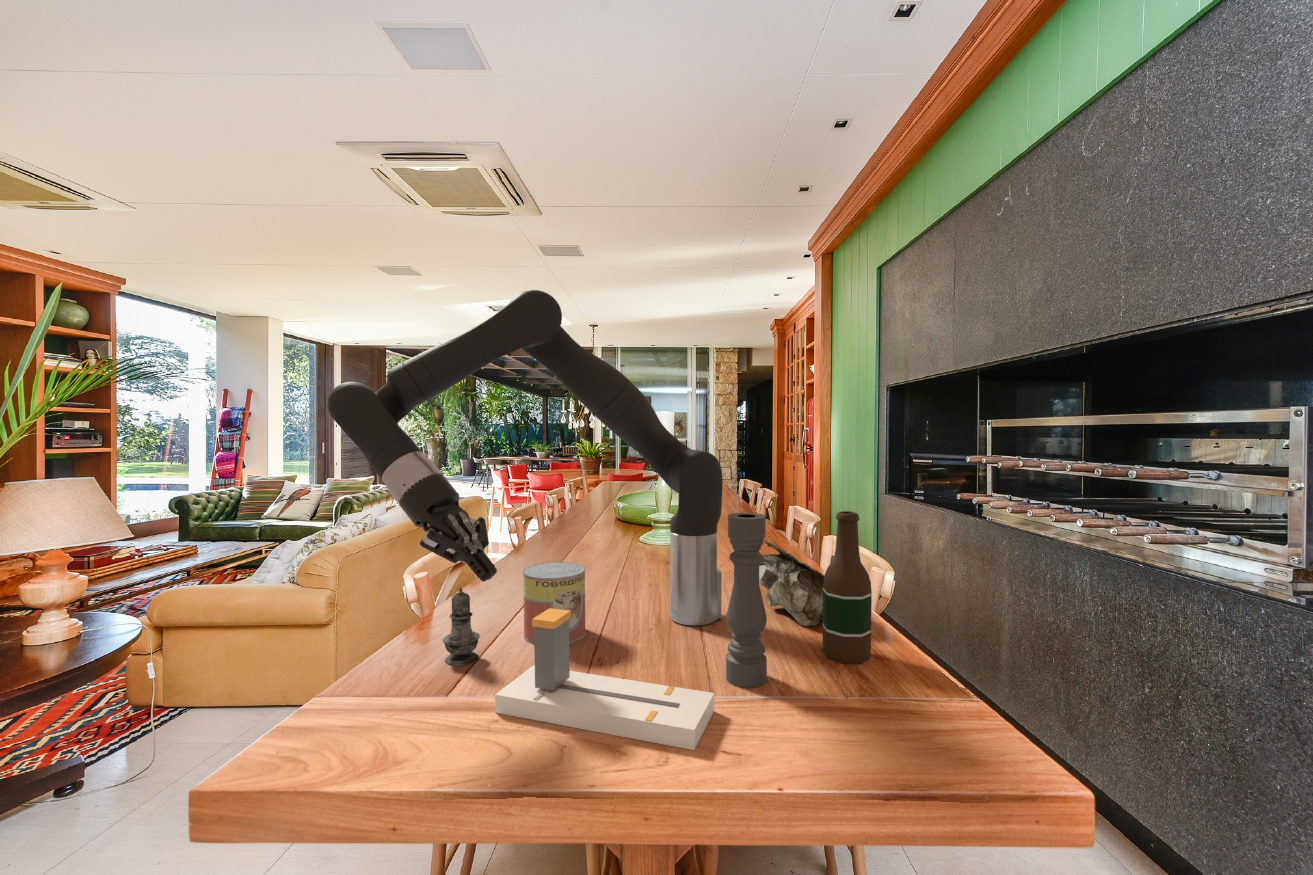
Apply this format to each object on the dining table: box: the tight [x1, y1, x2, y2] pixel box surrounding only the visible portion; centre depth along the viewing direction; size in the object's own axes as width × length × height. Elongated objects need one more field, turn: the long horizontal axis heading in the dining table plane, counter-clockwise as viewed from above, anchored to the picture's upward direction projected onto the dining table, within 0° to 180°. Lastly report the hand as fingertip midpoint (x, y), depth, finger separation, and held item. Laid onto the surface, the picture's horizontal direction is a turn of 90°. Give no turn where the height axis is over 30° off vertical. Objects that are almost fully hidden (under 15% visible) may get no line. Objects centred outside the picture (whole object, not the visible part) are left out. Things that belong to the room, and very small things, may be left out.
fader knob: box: [532, 608, 571, 691], centre depth 84 cm, size 3×5×10 cm
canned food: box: [522, 561, 587, 645], centre depth 110 cm, size 11×11×12 cm
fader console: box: [494, 664, 715, 751], centre depth 81 cm, size 28×10×3 cm, turn 71°
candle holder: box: [725, 512, 768, 689], centre depth 91 cm, size 6×6×25 cm
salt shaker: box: [442, 586, 481, 667], centre depth 99 cm, size 6×6×12 cm
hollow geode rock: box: [759, 539, 825, 627], centre depth 125 cm, size 28×13×15 cm
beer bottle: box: [822, 510, 873, 664], centre depth 100 cm, size 8×8×24 cm
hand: (490, 576), depth 87 cm, fingers closed
